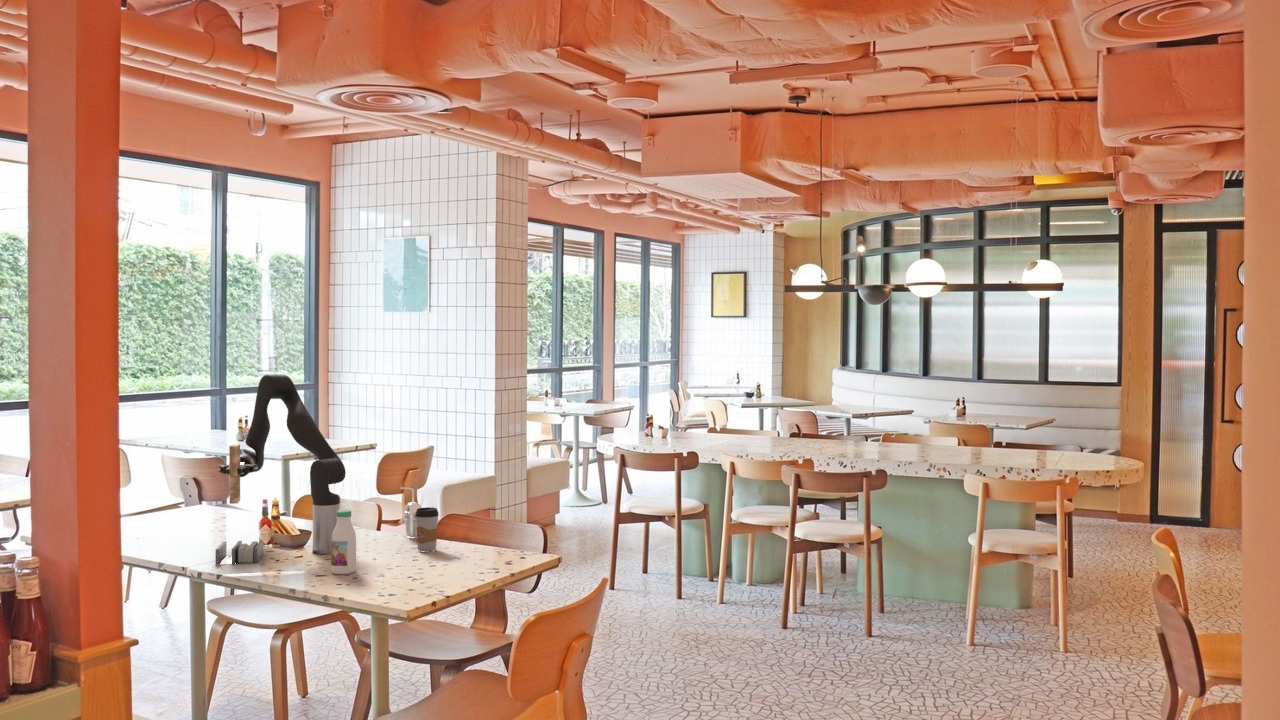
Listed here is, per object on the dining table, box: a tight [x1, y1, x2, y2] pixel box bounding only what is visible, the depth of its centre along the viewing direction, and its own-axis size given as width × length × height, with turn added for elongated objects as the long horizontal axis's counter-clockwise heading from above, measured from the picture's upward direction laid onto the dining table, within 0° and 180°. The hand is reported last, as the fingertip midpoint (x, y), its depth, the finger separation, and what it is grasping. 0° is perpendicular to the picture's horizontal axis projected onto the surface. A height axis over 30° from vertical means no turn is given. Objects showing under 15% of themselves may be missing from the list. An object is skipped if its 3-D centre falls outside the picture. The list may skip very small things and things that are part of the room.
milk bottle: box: [330, 509, 357, 575], centre depth 315 cm, size 8×8×20 cm
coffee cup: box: [415, 506, 439, 552], centre depth 350 cm, size 8×8×15 cm
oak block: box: [228, 443, 241, 505], centre depth 338 cm, size 2×6×20 cm, turn 14°
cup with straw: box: [398, 486, 423, 540], centre depth 373 cm, size 8×9×20 cm
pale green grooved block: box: [238, 540, 259, 562], centre depth 329 cm, size 5×10×5 cm, turn 14°
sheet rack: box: [215, 539, 264, 565], centre depth 328 cm, size 13×14×6 cm
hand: (233, 471), depth 336 cm, fingers closed on oak block, 2 cm apart
